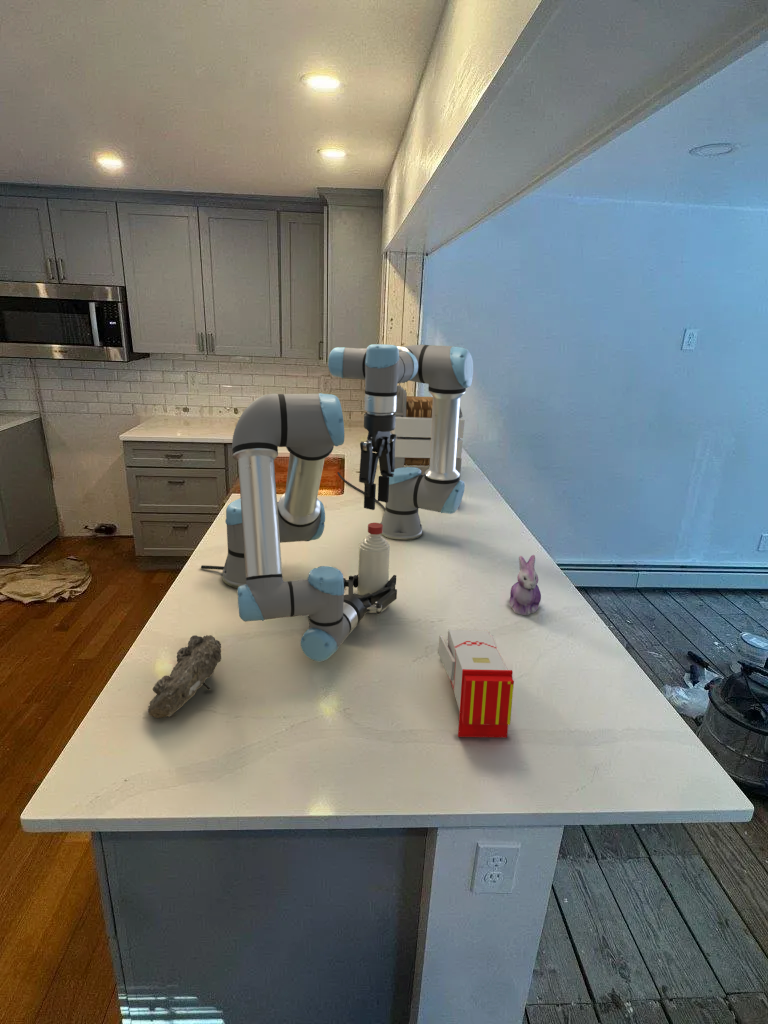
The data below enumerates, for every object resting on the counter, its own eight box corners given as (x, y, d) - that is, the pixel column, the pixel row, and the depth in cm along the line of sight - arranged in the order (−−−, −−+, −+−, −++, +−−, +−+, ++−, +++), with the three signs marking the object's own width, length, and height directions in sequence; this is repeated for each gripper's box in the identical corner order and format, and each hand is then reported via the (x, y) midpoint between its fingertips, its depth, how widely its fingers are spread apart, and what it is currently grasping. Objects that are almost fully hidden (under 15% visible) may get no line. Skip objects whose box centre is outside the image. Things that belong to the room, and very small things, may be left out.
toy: (488, 613, 130) (523, 677, 101) (484, 667, 133) (517, 744, 104) (435, 612, 130) (455, 676, 101) (432, 666, 133) (451, 743, 103)
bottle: (352, 609, 149) (355, 529, 141) (362, 595, 156) (365, 519, 148) (382, 615, 147) (386, 534, 139) (390, 600, 154) (394, 523, 146)
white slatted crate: (382, 463, 289) (386, 382, 275) (445, 464, 293) (451, 384, 279) (390, 482, 257) (394, 392, 243) (460, 483, 261) (468, 394, 247)
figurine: (523, 619, 147) (531, 567, 142) (498, 602, 156) (505, 552, 150) (551, 612, 151) (559, 561, 146) (525, 595, 160) (532, 546, 155)
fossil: (175, 637, 125) (222, 606, 120) (205, 666, 128) (253, 637, 123) (125, 712, 105) (179, 678, 100) (162, 744, 108) (217, 713, 103)
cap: (365, 533, 143) (366, 526, 142) (370, 528, 146) (370, 521, 146) (380, 535, 142) (380, 528, 141) (384, 530, 145) (384, 523, 145)
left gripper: (305, 619, 138) (344, 581, 158) (385, 639, 131) (415, 596, 151) (304, 592, 135) (344, 556, 155) (386, 610, 129) (417, 571, 149)
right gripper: (385, 405, 143) (381, 492, 151) (344, 416, 128) (342, 512, 135) (412, 409, 140) (406, 498, 148) (373, 420, 124) (369, 519, 132)
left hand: (379, 576), depth 153 cm, fingers closed on bottle, 8 cm apart
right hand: (376, 504), depth 142 cm, fingers open, 6 cm apart
